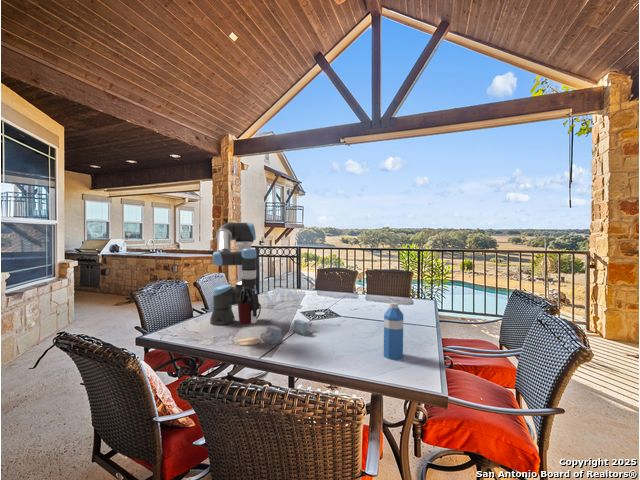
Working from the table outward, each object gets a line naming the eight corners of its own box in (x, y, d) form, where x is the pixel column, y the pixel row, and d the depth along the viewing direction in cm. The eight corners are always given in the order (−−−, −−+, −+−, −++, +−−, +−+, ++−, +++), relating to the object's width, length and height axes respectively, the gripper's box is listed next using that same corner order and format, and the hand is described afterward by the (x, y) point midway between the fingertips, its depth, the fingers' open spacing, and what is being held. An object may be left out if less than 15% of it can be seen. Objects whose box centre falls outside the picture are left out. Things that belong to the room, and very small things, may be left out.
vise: (256, 341, 158) (256, 328, 158) (305, 328, 181) (305, 317, 181) (267, 347, 151) (267, 333, 151) (316, 332, 174) (316, 320, 174)
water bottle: (380, 352, 146) (381, 301, 145) (399, 351, 146) (400, 301, 146) (386, 360, 136) (387, 305, 136) (406, 359, 137) (407, 305, 137)
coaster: (232, 341, 158) (232, 340, 158) (252, 336, 167) (252, 335, 167) (244, 347, 150) (244, 346, 150) (264, 342, 158) (264, 341, 158)
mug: (263, 320, 161) (263, 300, 161) (258, 325, 152) (258, 303, 152) (241, 319, 162) (241, 299, 162) (235, 324, 154) (235, 303, 153)
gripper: (232, 276, 163) (232, 317, 163) (253, 281, 147) (253, 326, 147) (244, 275, 168) (244, 315, 168) (266, 279, 152) (266, 323, 152)
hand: (248, 320), depth 158 cm, fingers closed on mug, 9 cm apart
